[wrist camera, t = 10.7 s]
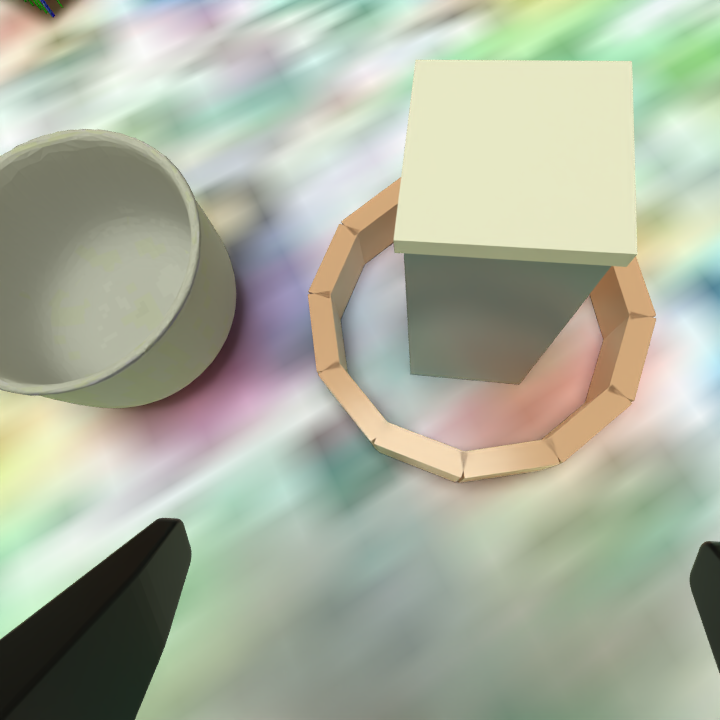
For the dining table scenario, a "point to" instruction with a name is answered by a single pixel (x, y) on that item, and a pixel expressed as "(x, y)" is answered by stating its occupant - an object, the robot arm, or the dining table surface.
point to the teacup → (106, 273)
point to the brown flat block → (44, 6)
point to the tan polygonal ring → (603, 404)
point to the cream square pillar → (511, 207)
